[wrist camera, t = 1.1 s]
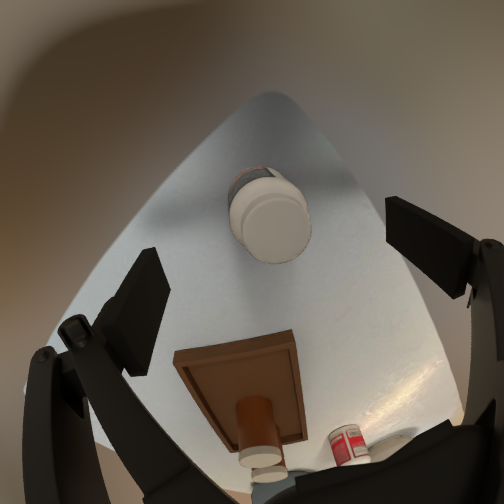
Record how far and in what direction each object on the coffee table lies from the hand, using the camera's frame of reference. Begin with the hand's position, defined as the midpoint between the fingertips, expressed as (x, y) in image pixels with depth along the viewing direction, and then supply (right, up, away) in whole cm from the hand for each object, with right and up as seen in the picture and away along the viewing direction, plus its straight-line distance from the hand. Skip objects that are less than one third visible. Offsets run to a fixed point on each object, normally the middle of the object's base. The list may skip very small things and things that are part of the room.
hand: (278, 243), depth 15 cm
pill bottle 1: (-1, +4, +9) cm, 10 cm away
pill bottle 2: (+16, -35, +28) cm, 48 cm away
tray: (-1, -22, +21) cm, 30 cm away
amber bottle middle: (-1, -22, +20) cm, 30 cm away
